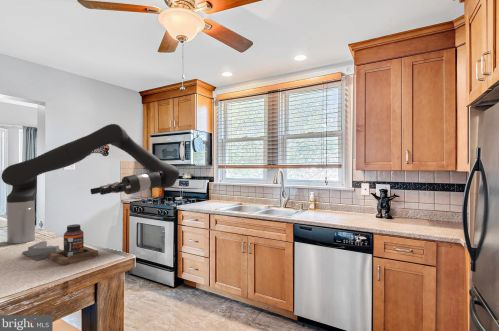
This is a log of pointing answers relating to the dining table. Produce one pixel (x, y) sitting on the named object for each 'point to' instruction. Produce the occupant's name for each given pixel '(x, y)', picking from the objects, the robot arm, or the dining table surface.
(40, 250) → the metal v block
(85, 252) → the frame
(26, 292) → the dining table surface
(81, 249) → the supplement bottle
